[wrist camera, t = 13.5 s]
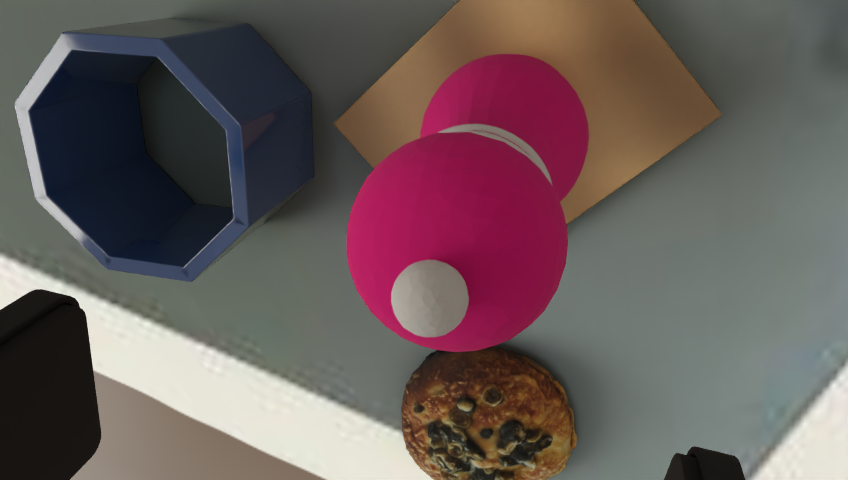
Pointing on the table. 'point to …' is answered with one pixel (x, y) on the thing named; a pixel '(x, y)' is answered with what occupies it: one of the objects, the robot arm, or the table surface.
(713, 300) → the table surface
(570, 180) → the pepper mill
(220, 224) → the utensil crock
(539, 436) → the bread roll
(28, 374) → the robot arm
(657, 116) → the oak board
